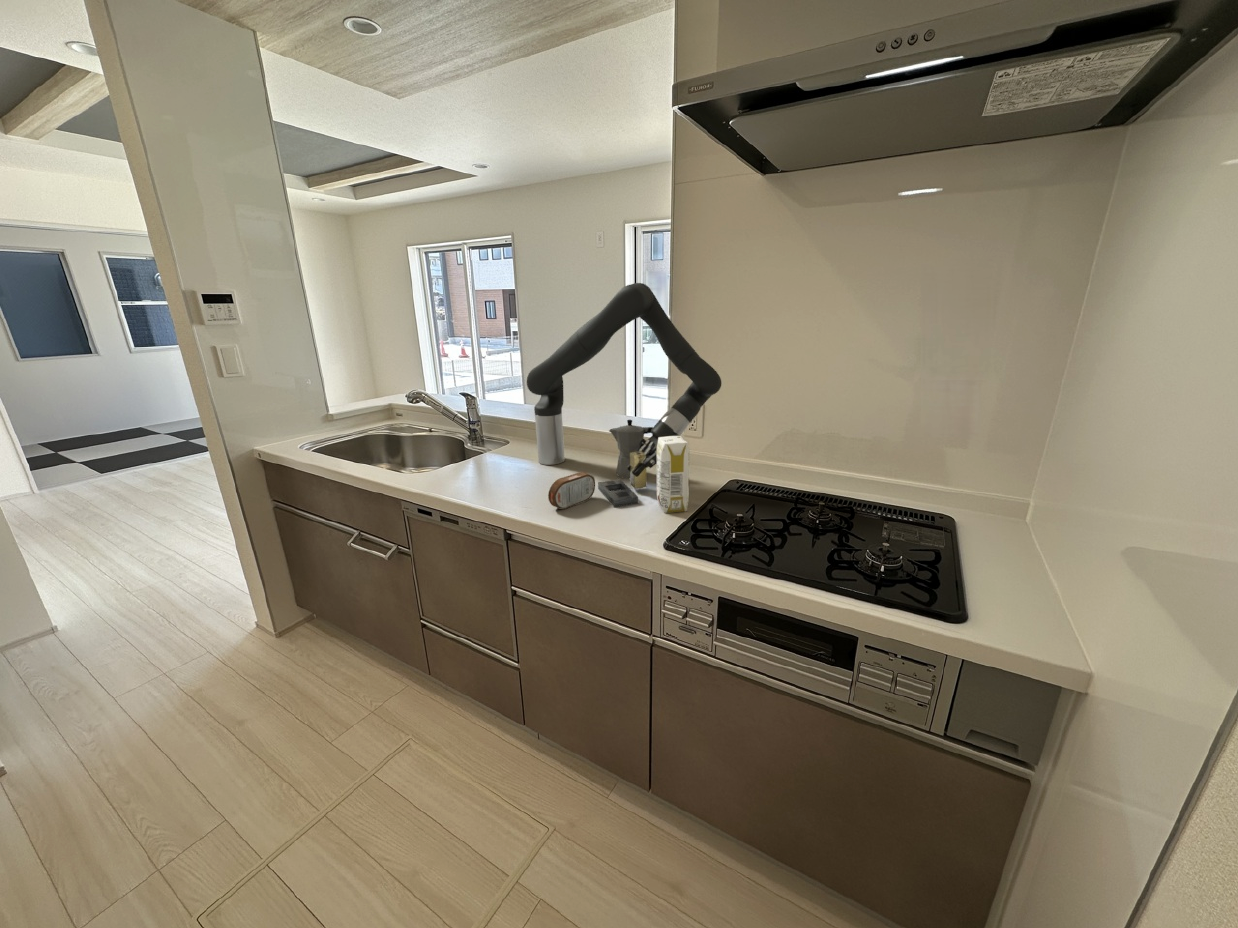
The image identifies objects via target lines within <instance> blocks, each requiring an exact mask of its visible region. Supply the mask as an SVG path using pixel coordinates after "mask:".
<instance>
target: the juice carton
mask: <svg viewBox="0 0 1238 928" xmlns="http://www.w3.org/2000/svg"><path fill="white" fill-rule="evenodd" d="M689 445H690V444H689V442H688V441H686V440H684V438H683V436H682V435H680V436H667V437H658V443H657V464H656V499H657V503H658V505H659V506H660V507H661V509H662V512H663V513H664V514H671V513H682V512H687V511H688V505H689V499H690V498H689V496H690V494H689V493H690V463H691V461H690V460H691V459H690V458H691V457H690V454H691V453H690V446H689Z"/></svg>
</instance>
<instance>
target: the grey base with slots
mask: <svg viewBox="0 0 1238 928" xmlns="http://www.w3.org/2000/svg"><path fill="white" fill-rule="evenodd" d="M597 489H598V490H599V491H600V492H601V494H602V496H604V497H605V498H606V500H607V501H608V502H609V503H610V504H611V506H613V508H617V507H626V506H631V505H636V504H639V496H638V494H636V493H635V491H633V490H632V489H631V488H630V487H629V486H628V485H627V484H626V483H625V482H624V481H622V479H613V480H605V481H598V482H597Z"/></svg>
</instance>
